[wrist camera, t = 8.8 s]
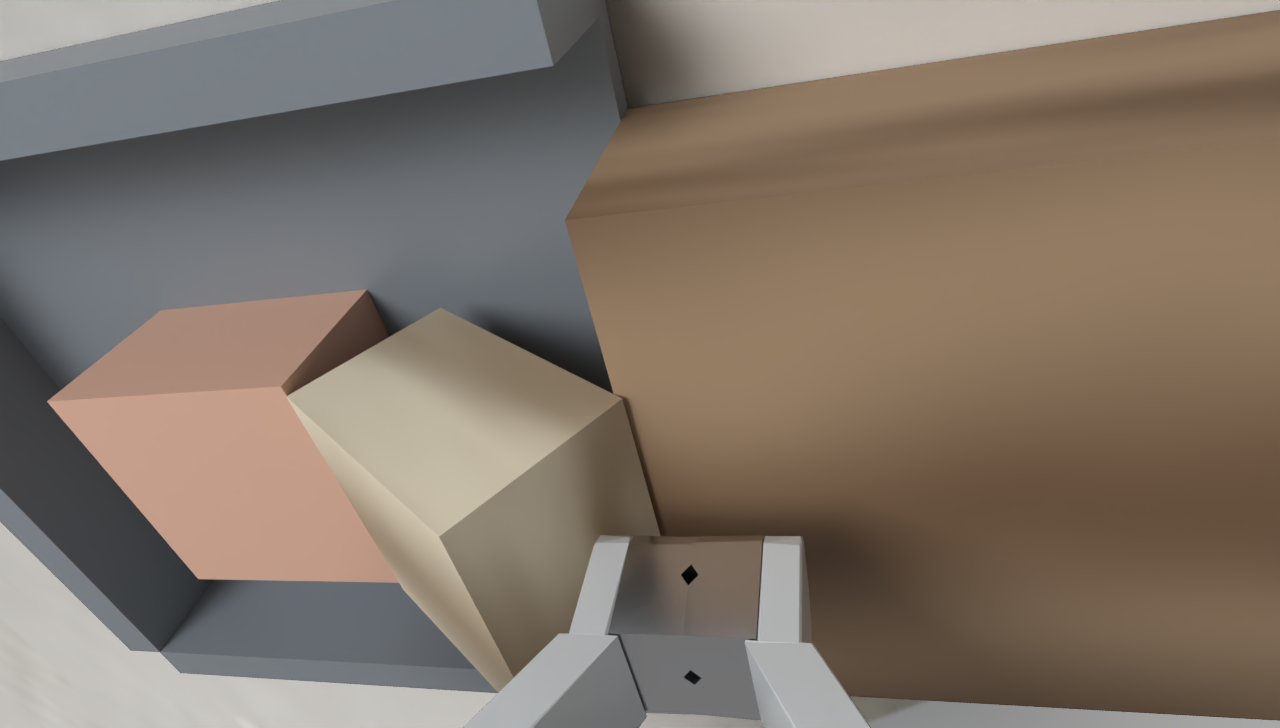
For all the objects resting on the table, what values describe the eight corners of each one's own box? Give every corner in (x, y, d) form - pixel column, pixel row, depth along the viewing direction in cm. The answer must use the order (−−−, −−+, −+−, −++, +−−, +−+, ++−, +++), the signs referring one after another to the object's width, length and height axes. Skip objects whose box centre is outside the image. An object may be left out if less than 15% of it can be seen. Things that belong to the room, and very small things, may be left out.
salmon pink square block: (280, 386, 12) (367, 289, 14) (46, 401, 13) (160, 310, 16) (400, 582, 15) (456, 474, 17) (198, 578, 16) (275, 479, 18)
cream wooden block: (439, 307, 14) (286, 396, 12) (622, 398, 10) (438, 537, 9) (520, 499, 16) (403, 590, 15) (684, 620, 13) (553, 752, 12)
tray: (-180, 100, 15) (-368, 158, 12) (591, -68, 10) (529, -29, 8) (218, 582, 23) (151, 671, 21) (729, 594, 19) (718, 707, 17)
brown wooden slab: (627, 109, 12) (564, 220, 9) (1598, -38, 9) (2034, 53, 6) (716, 528, 18) (696, 687, 14) (1325, 529, 14) (1468, 730, 11)
